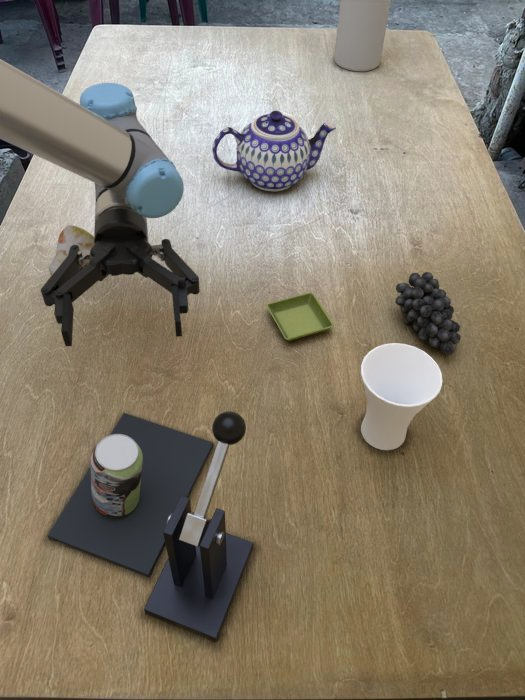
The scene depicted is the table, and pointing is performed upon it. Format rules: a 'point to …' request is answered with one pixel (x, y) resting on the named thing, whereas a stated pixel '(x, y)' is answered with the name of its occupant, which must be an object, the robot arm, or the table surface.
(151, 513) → the slate mat
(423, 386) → the cup
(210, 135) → the table surface
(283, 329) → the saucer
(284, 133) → the teapot
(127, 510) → the beverage can
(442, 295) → the fruit
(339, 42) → the cylinder vase
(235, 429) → the tap lever
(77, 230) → the mug
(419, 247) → the table surface
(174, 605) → the bracket
